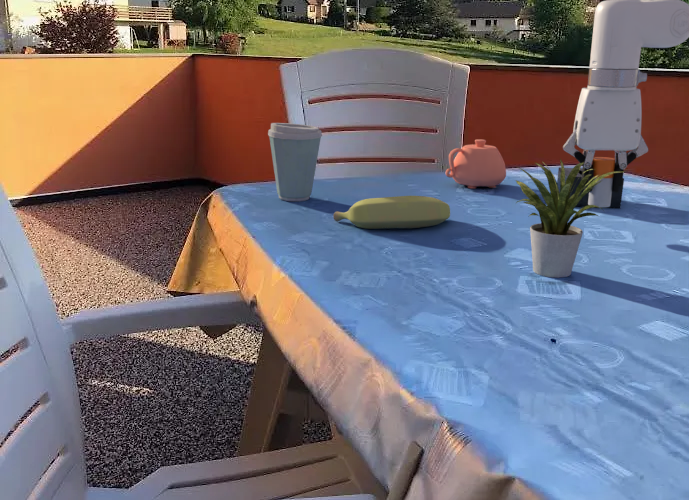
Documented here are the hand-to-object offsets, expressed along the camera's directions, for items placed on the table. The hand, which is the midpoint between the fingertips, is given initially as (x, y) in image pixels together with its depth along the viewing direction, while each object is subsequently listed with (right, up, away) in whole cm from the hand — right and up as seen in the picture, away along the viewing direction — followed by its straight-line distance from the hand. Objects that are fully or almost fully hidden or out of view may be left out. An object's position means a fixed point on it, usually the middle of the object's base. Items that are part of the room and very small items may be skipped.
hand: (600, 189), depth 120 cm
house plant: (-13, -13, -20) cm, 27 cm away
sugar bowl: (-14, +4, +39) cm, 42 cm away
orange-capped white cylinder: (0, -3, +1) cm, 3 cm away
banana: (-35, -6, +4) cm, 36 cm away
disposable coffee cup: (-53, 0, +23) cm, 58 cm away
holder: (+6, 0, +24) cm, 25 cm away
